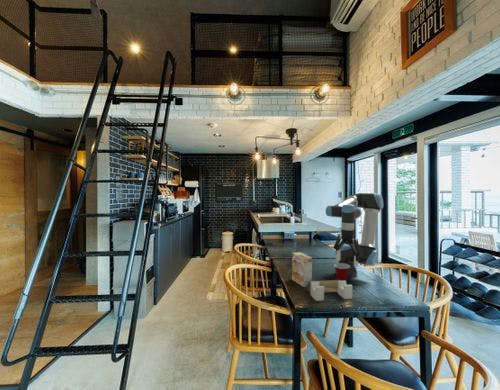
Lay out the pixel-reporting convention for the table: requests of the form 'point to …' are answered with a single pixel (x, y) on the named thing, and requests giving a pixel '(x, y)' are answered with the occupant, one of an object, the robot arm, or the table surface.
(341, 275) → the plastic cup
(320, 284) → the rail
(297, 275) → the coffeecake box
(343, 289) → the foot post
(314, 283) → the head post
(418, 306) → the table surface
